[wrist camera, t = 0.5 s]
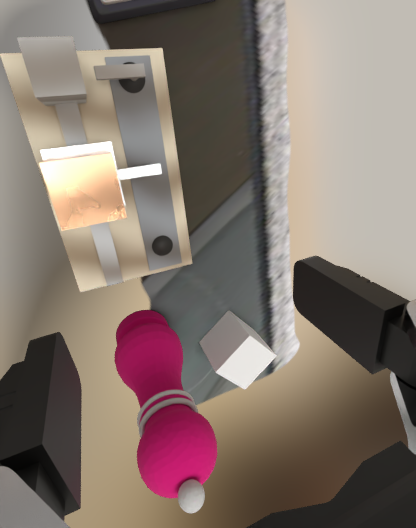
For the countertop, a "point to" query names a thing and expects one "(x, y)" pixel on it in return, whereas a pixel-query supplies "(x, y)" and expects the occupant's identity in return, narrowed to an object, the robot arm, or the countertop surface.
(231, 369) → the white cube
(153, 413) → the pepper mill
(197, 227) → the countertop surface
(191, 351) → the countertop surface
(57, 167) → the slider
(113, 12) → the button box
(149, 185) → the board
